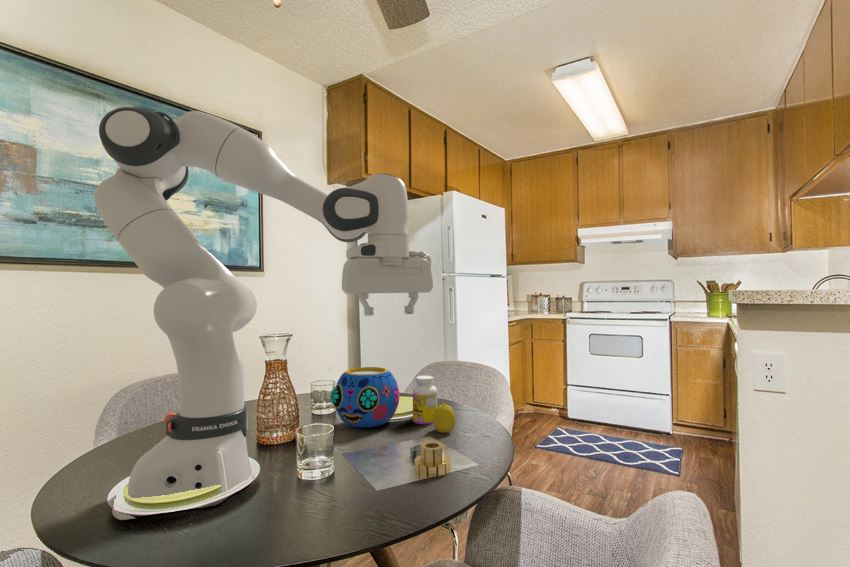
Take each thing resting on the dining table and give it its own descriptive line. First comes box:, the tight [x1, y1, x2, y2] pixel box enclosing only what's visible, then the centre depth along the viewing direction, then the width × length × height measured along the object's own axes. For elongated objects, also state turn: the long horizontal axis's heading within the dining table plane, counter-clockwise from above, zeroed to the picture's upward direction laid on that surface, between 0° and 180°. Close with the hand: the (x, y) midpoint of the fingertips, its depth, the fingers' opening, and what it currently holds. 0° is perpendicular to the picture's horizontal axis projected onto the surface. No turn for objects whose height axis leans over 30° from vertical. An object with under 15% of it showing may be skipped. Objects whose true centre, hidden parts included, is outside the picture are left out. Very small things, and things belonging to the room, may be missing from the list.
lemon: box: [433, 402, 456, 434], centre depth 108 cm, size 6×6×8 cm
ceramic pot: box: [330, 366, 400, 429], centre depth 116 cm, size 18×18×15 cm
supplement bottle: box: [412, 375, 438, 426], centre depth 117 cm, size 7×7×13 cm
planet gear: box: [414, 441, 451, 478], centre depth 84 cm, size 7×7×5 cm
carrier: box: [341, 436, 480, 492], centre depth 90 cm, size 22×20×5 cm
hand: (389, 314), depth 93 cm, fingers open, 8 cm apart
